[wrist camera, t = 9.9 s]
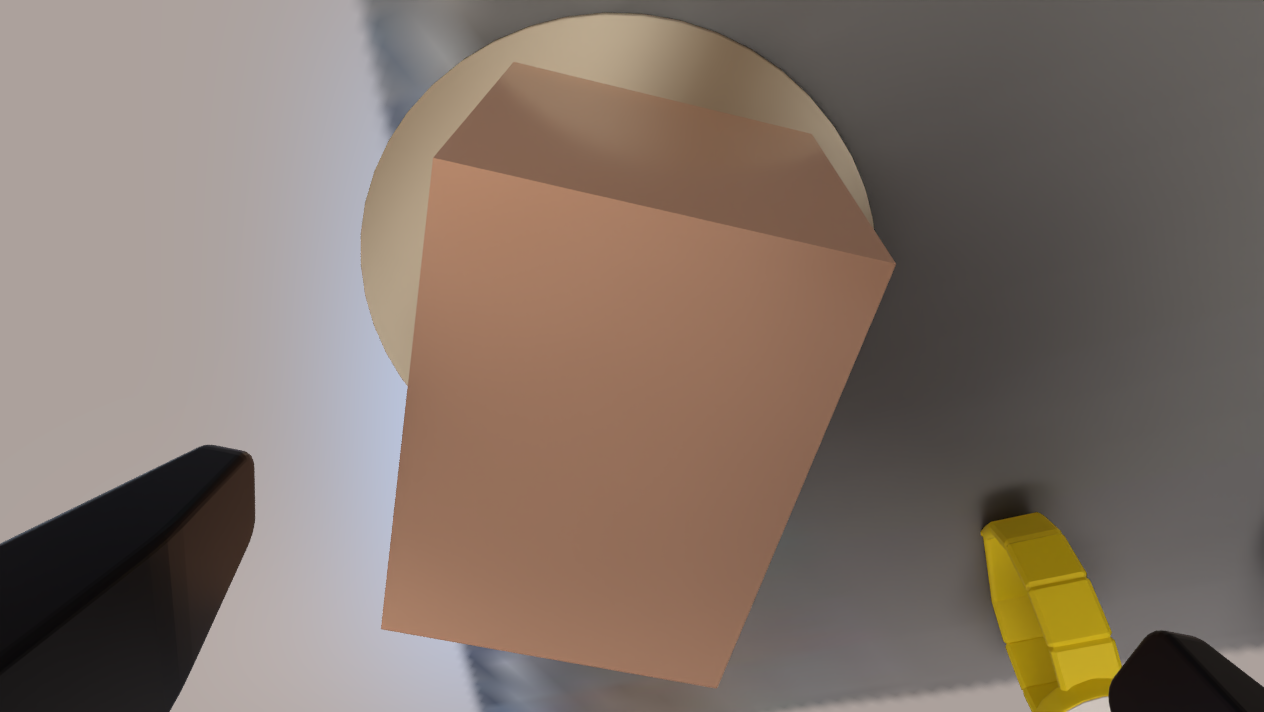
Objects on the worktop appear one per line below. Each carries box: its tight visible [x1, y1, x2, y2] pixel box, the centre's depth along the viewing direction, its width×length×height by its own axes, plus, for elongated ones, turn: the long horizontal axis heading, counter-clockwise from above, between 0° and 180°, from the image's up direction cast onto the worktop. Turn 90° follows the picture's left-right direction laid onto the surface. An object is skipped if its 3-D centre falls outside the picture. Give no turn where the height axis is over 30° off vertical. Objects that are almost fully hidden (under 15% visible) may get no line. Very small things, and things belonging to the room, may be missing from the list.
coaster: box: [361, 12, 874, 386], centre depth 19 cm, size 12×12×1 cm
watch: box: [980, 512, 1122, 712], centre depth 21 cm, size 6×3×6 cm, turn 17°
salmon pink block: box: [381, 62, 896, 688], centre depth 16 cm, size 6×9×7 cm
